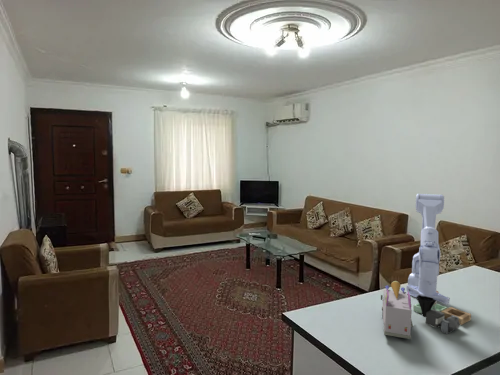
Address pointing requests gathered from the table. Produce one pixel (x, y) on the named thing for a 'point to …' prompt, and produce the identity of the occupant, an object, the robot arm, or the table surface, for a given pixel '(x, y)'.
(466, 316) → the socket block
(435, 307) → the pin
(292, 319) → the table surface
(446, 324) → the trolley wheel
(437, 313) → the block
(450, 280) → the table surface
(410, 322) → the toy vehicle
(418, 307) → the tray
